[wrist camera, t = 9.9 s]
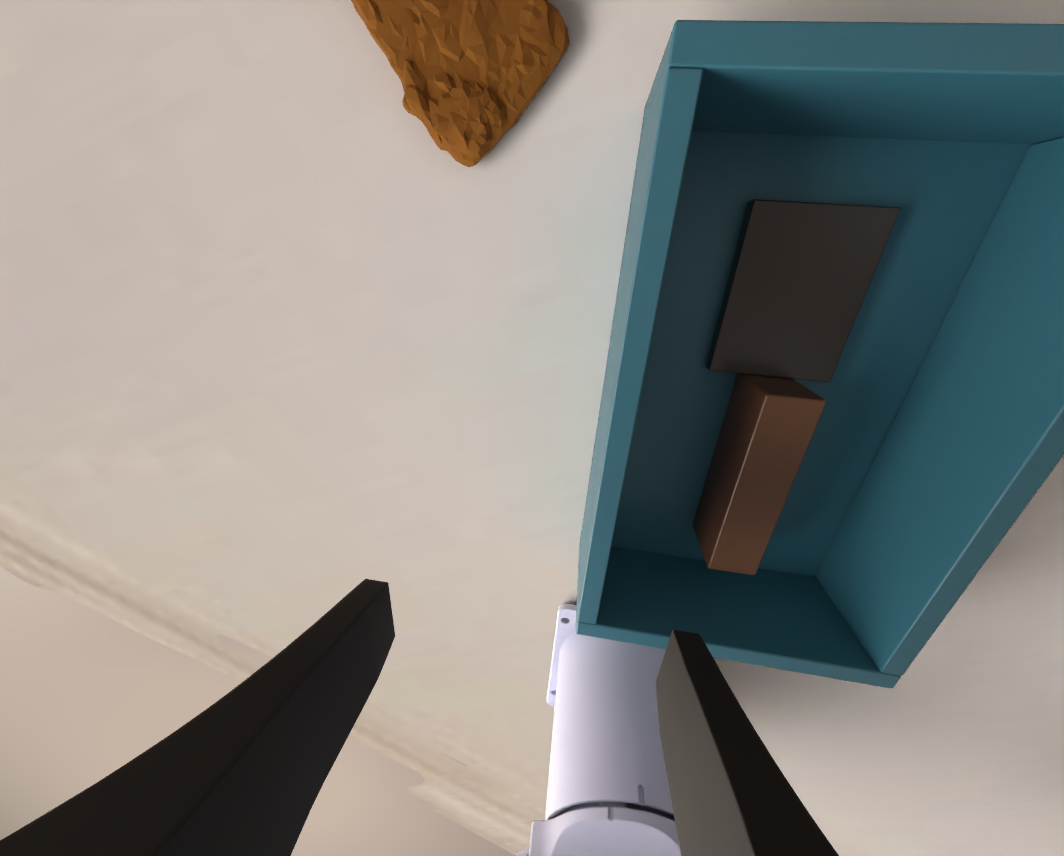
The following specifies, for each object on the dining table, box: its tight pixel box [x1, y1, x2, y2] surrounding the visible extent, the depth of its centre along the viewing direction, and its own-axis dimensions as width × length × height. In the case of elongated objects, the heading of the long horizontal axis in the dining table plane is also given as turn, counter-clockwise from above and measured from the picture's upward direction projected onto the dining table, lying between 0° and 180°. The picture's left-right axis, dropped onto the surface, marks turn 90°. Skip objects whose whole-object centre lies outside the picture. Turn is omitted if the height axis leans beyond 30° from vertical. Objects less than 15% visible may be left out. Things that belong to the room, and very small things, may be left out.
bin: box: [575, 20, 1064, 688], centre depth 14 cm, size 20×13×6 cm, turn 176°
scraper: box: [692, 199, 901, 575], centre depth 15 cm, size 14×5×3 cm, turn 176°
